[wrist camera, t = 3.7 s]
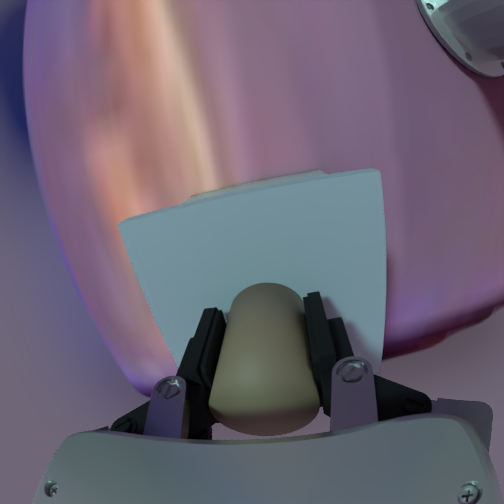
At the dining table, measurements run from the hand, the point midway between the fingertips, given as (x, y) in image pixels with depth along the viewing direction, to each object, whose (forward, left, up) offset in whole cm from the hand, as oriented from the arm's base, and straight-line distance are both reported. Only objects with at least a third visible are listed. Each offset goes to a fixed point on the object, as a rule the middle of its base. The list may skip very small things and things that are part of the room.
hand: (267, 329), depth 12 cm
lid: (0, 0, -2) cm, 2 cm away
